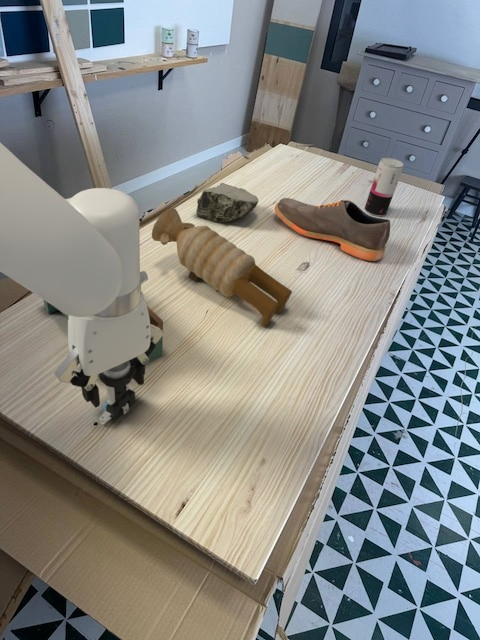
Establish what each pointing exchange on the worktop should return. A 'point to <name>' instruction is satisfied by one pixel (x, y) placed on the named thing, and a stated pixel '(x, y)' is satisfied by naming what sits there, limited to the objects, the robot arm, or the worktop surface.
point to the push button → (118, 390)
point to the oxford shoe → (338, 226)
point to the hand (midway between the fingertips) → (115, 388)
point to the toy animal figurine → (221, 264)
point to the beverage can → (383, 186)
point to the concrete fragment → (225, 203)
